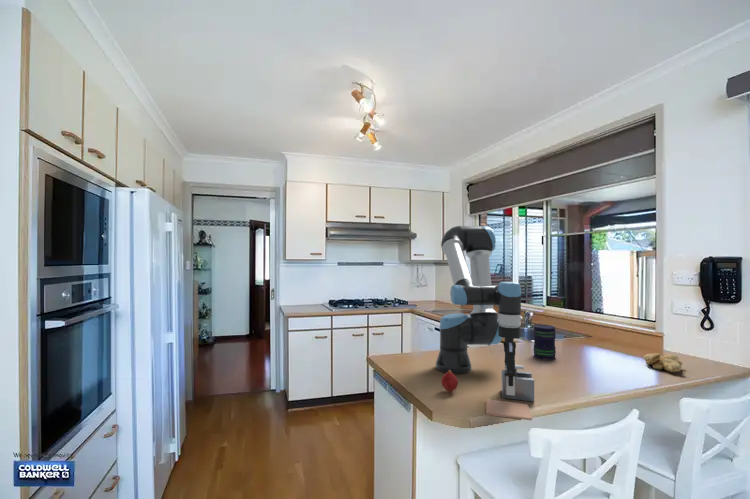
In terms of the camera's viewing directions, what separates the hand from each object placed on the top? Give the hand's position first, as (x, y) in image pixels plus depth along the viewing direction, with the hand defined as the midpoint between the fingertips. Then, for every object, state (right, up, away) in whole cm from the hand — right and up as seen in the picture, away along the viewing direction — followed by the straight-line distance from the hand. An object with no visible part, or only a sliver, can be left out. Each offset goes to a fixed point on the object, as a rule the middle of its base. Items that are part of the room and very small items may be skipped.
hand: (509, 389), depth 129 cm
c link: (+2, -1, -1) cm, 3 cm away
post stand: (+1, -2, -1) cm, 2 cm away
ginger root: (+79, -3, +32) cm, 86 cm away
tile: (-5, -1, -13) cm, 14 cm away
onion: (-21, -2, +2) cm, 21 cm away
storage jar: (+35, -3, +50) cm, 61 cm away
